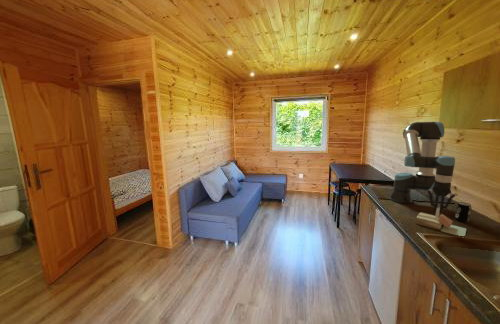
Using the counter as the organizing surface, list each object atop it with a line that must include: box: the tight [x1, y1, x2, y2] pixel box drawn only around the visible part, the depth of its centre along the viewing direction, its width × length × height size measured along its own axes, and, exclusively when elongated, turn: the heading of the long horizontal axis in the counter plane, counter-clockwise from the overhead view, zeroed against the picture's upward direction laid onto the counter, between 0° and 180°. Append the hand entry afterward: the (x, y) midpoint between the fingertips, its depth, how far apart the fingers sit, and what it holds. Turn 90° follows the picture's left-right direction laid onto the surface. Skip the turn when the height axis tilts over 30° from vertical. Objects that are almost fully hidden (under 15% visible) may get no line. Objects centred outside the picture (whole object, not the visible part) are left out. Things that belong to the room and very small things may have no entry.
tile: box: [437, 213, 453, 228], centre depth 127 cm, size 9×6×2 cm
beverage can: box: [454, 201, 472, 224], centre depth 135 cm, size 7×7×12 cm
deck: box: [414, 211, 443, 231], centre depth 133 cm, size 12×12×4 cm
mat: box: [440, 224, 467, 237], centre depth 124 cm, size 14×10×1 cm
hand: (437, 217), depth 129 cm, fingers closed
